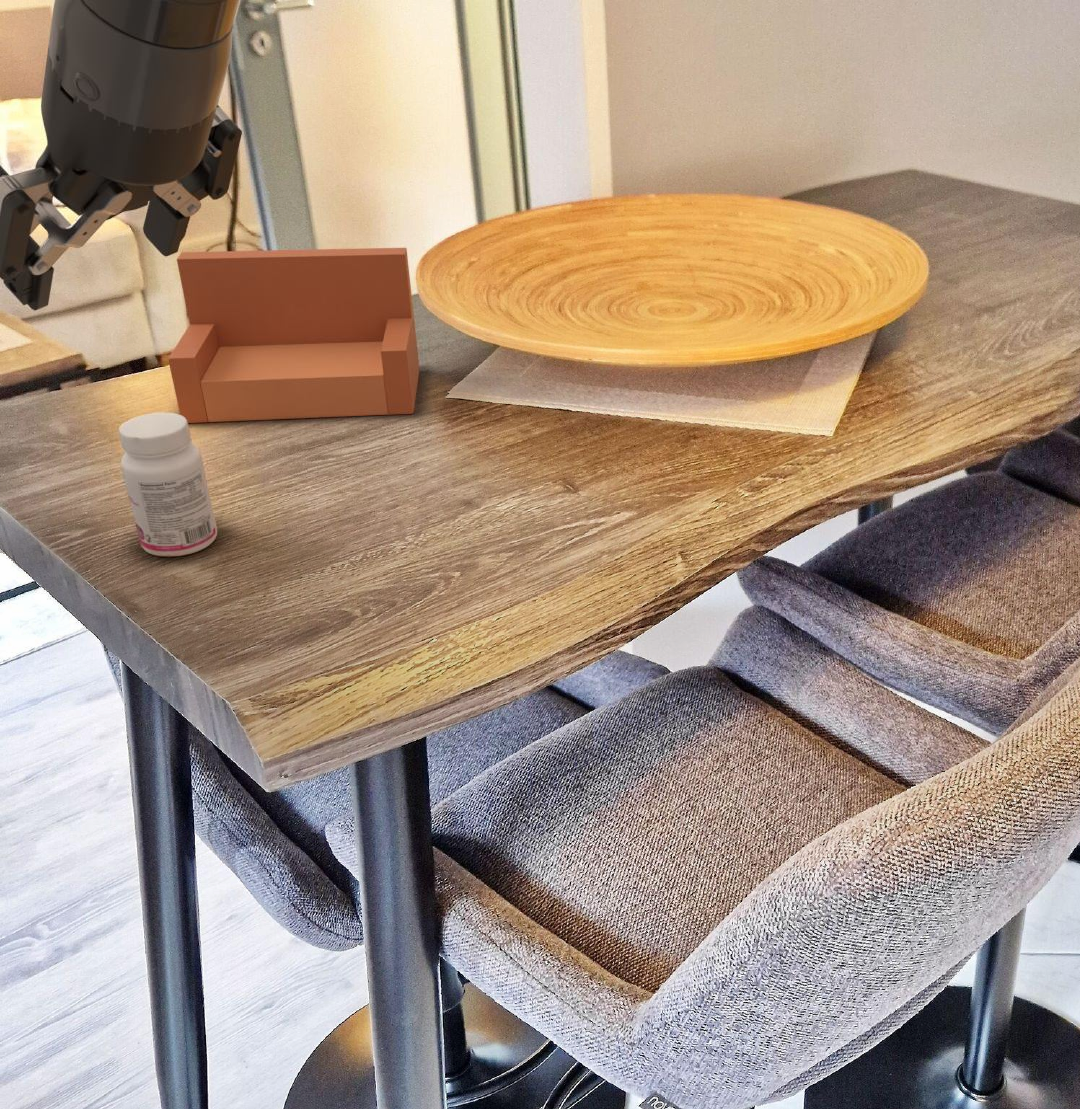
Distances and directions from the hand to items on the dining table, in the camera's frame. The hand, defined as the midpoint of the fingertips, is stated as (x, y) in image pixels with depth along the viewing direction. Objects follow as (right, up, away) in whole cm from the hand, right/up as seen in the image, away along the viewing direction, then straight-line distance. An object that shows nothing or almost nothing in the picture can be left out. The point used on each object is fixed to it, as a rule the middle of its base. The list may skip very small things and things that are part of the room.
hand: (96, 269), depth 71 cm
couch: (+1, -3, +33) cm, 33 cm away
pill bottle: (0, -16, +11) cm, 19 cm away
